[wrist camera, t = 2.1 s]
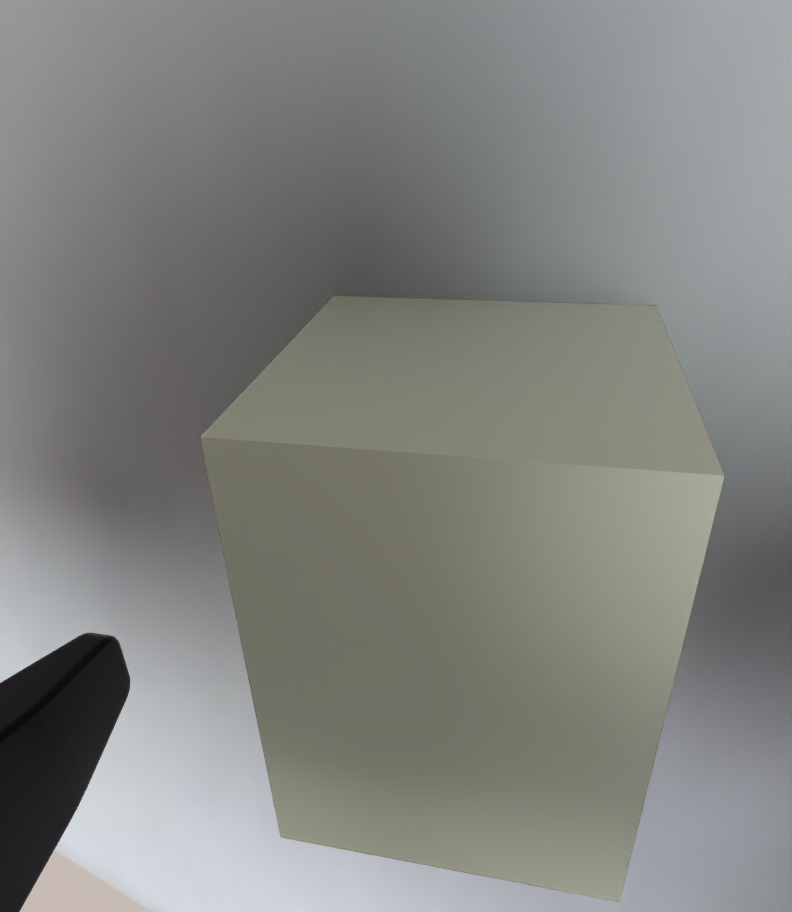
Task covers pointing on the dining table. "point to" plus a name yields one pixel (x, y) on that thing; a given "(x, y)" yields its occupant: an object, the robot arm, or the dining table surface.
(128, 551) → the dining table surface
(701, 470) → the pale green block
